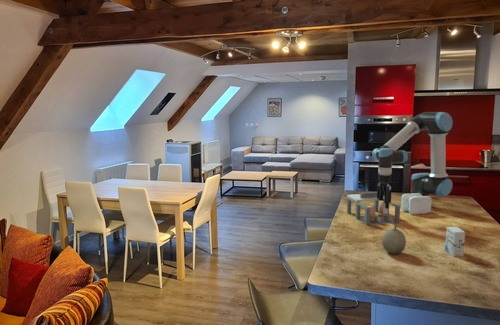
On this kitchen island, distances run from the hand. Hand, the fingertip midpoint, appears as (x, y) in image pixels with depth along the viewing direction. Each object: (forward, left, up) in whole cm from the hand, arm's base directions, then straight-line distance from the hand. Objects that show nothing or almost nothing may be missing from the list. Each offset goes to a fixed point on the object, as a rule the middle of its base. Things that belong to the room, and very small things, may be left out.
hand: (383, 212), depth 234 cm
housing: (+4, -7, -5) cm, 9 cm away
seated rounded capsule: (+8, 0, -5) cm, 9 cm away
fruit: (+21, +49, -6) cm, 54 cm away
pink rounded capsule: (0, 0, -2) cm, 2 cm away
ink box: (-6, +55, -6) cm, 56 cm away
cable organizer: (-30, -13, -6) cm, 33 cm away
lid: (+4, -14, +6) cm, 15 cm away
